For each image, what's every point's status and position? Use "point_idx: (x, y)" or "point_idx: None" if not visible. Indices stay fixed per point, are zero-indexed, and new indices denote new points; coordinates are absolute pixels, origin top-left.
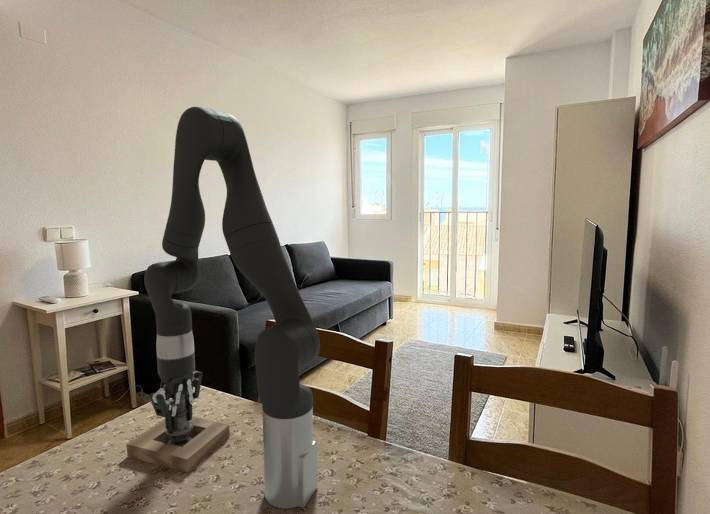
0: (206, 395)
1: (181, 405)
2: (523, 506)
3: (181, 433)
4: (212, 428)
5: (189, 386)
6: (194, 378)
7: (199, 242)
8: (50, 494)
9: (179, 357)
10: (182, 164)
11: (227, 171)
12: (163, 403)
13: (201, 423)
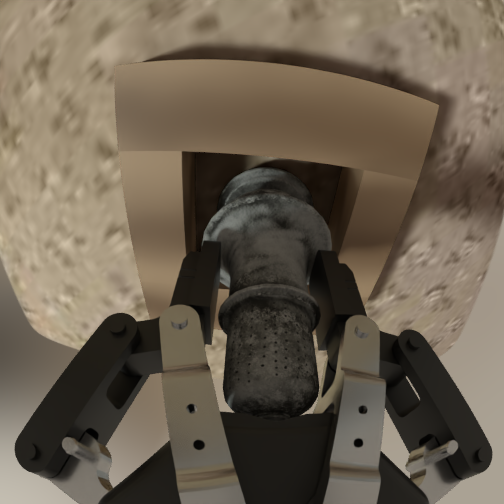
0: (29, 291)
1: (295, 348)
2: None
3: (317, 218)
4: (175, 120)
5: (200, 465)
6: (85, 457)
7: None
8: (443, 329)
9: None
10: None
11: None
12: (458, 417)
13: (158, 199)
